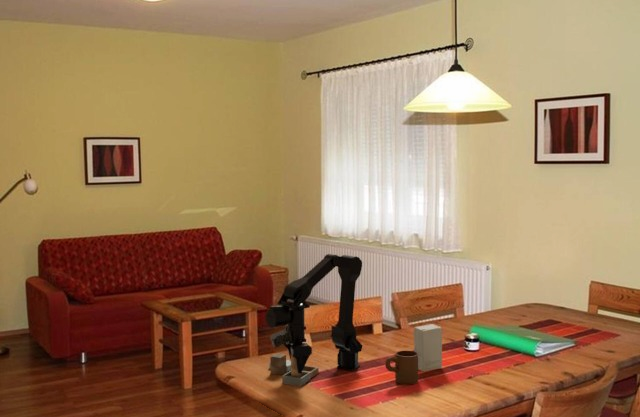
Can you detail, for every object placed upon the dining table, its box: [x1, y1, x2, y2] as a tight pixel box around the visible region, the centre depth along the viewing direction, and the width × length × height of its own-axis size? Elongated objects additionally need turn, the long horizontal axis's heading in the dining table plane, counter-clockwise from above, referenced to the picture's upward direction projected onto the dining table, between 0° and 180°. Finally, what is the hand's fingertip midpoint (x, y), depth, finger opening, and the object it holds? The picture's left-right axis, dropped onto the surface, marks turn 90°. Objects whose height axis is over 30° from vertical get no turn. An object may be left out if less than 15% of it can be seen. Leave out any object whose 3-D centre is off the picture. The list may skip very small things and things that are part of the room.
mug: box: [384, 350, 419, 386], centre depth 226 cm, size 12×8×9 cm, turn 116°
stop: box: [269, 352, 287, 376], centre depth 237 cm, size 4×4×6 cm
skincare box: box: [413, 323, 443, 372], centre depth 241 cm, size 8×6×15 cm
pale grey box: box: [268, 359, 291, 373], centre depth 243 cm, size 8×6×2 cm
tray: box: [281, 371, 312, 387], centre depth 228 cm, size 7×7×2 cm
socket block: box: [303, 365, 320, 379], centre depth 235 cm, size 6×6×2 cm
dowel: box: [290, 355, 302, 378], centre depth 228 cm, size 4×4×9 cm
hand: (296, 368), depth 228 cm, fingers open, 9 cm apart
